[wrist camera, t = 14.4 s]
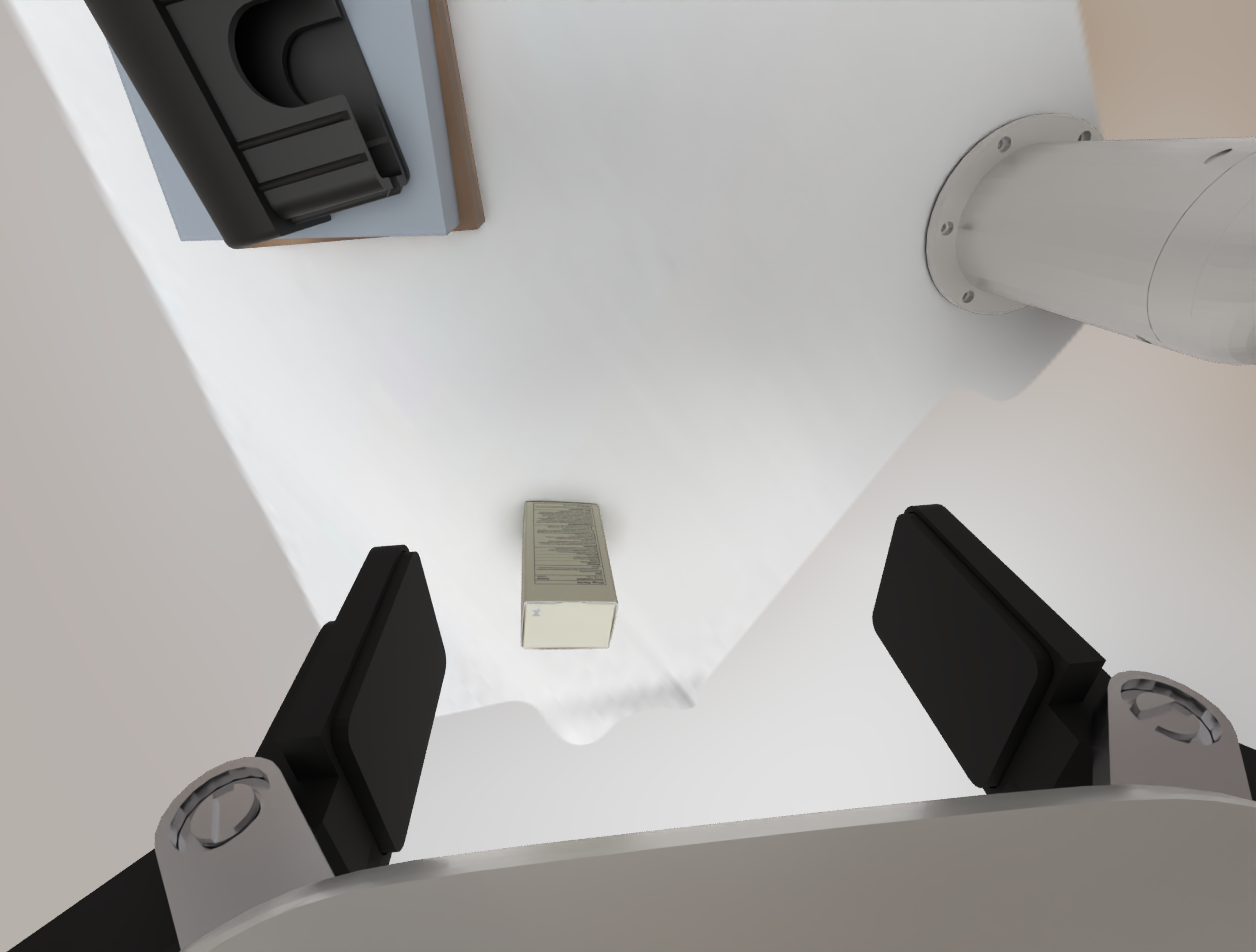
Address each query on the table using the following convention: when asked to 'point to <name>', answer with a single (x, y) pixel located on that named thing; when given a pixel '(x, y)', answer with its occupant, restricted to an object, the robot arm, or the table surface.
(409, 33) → the slate top block
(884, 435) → the table surface
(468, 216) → the walnut base block
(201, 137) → the end cap
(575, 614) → the skincare box
